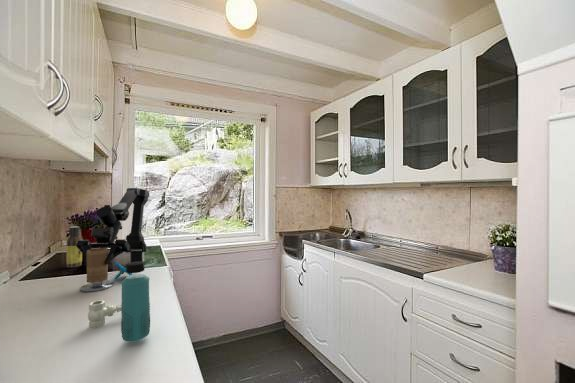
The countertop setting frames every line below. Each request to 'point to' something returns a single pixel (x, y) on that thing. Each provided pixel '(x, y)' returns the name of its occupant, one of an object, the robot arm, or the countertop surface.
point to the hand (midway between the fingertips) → (95, 264)
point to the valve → (100, 313)
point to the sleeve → (97, 265)
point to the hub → (96, 286)
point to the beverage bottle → (135, 304)
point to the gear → (121, 271)
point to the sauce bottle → (73, 249)
